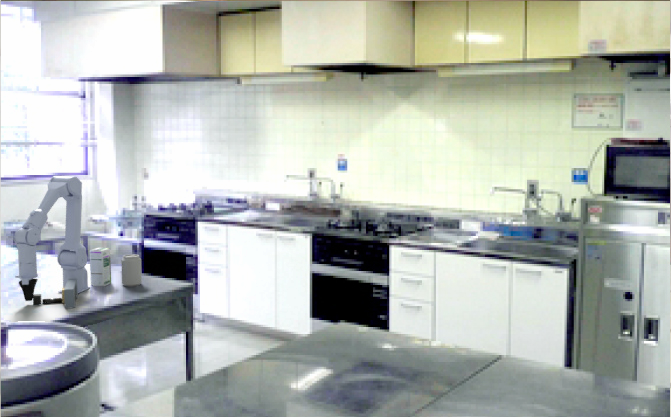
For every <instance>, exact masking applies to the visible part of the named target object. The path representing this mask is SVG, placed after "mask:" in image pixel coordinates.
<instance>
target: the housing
mask: <svg viewBox="0 0 671 417" xmlns="http://www.w3.org/2000/svg"><path fill="white" fill-rule="evenodd" d="M64 297H65V304H64V309H74V308H75V306H76V299H78V293H77V279H68V281H67V284H66V286H65V289H64Z"/></svg>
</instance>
